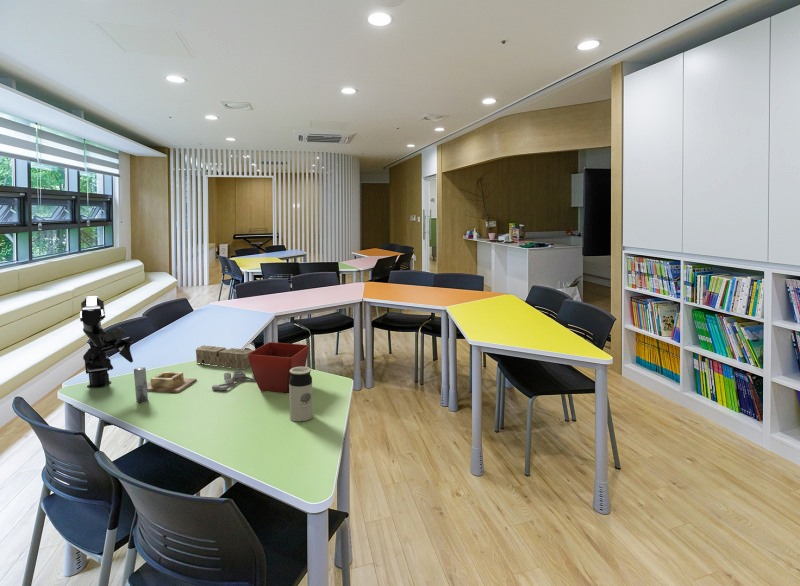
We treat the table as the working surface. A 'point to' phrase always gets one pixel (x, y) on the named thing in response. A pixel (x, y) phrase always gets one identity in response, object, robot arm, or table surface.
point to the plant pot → (276, 365)
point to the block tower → (223, 356)
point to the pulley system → (237, 376)
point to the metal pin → (140, 384)
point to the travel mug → (300, 394)
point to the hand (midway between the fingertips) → (122, 365)
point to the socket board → (169, 382)
